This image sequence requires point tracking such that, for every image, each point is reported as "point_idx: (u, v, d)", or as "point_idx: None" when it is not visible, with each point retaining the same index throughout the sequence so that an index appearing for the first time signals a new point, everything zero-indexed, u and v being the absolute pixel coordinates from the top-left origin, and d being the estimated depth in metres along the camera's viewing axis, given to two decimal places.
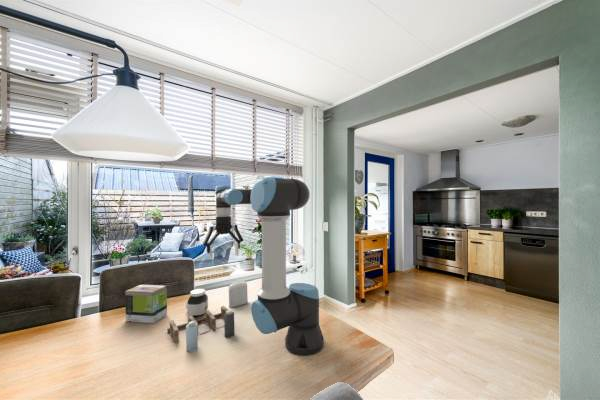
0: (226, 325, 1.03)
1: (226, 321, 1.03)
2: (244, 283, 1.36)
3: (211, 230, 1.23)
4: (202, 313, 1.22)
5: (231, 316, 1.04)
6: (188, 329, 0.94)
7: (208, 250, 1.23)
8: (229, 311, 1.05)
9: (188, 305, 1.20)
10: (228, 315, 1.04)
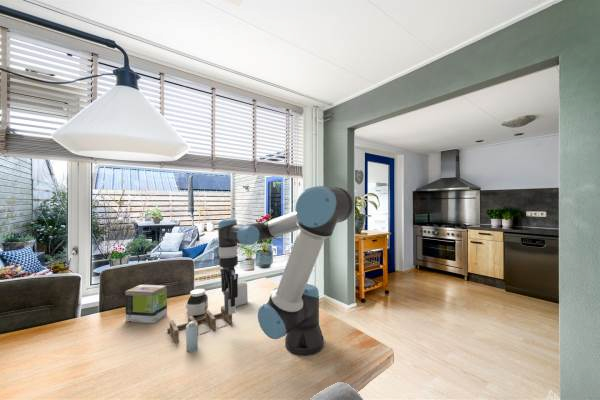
0: (226, 302, 1.03)
1: (226, 298, 1.03)
2: (244, 283, 1.36)
3: (221, 273, 1.09)
4: (202, 313, 1.22)
5: None
6: (188, 329, 0.94)
7: None
8: None
9: (188, 305, 1.20)
10: (228, 292, 1.03)
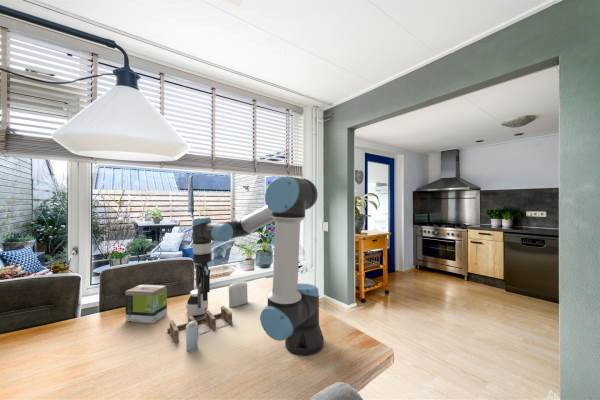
0: (199, 296, 1.07)
1: (199, 292, 1.07)
2: (244, 283, 1.36)
3: (196, 269, 1.13)
4: (202, 313, 1.22)
5: None
6: (188, 329, 0.94)
7: None
8: None
9: (188, 305, 1.20)
10: None
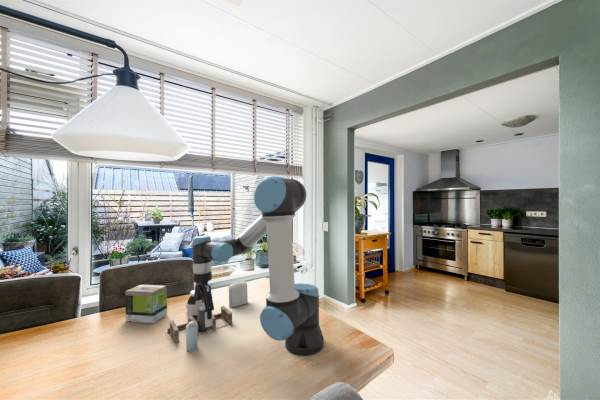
0: (199, 320, 1.07)
1: (199, 317, 1.07)
2: (244, 283, 1.36)
3: None
4: None
5: (204, 312, 1.08)
6: (188, 329, 0.94)
7: None
8: (203, 307, 1.09)
9: (188, 305, 1.20)
10: (201, 311, 1.08)
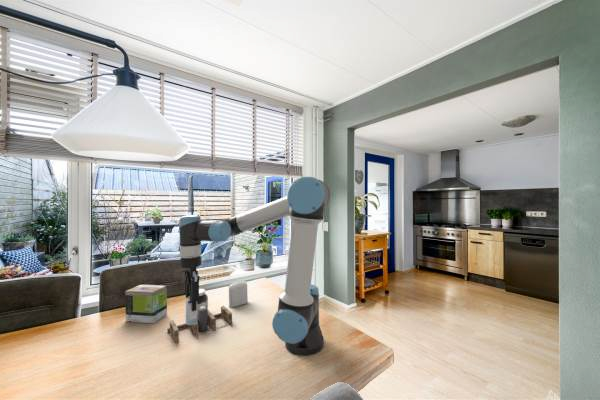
0: (199, 320, 1.07)
1: (199, 317, 1.07)
2: (244, 283, 1.36)
3: (184, 274, 0.99)
4: None
5: (204, 312, 1.08)
6: None
7: None
8: (203, 307, 1.09)
9: None
10: (201, 311, 1.08)
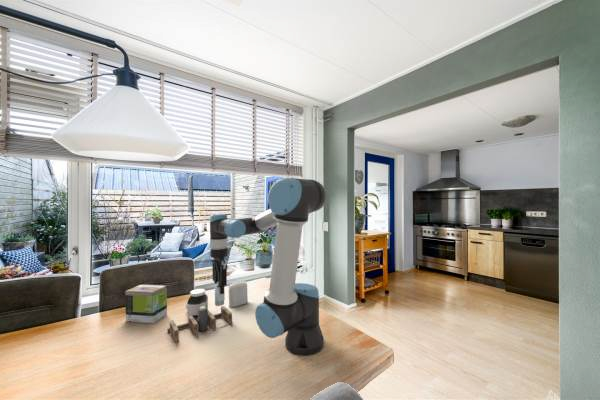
0: (199, 320, 1.07)
1: (199, 317, 1.07)
2: (244, 283, 1.36)
3: (212, 264, 1.17)
4: None
5: (204, 312, 1.08)
6: (217, 287, 1.12)
7: None
8: (203, 307, 1.09)
9: (188, 305, 1.20)
10: (201, 311, 1.08)
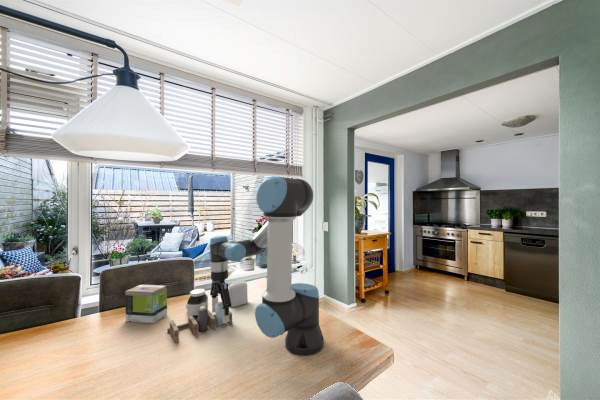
0: (199, 320, 1.07)
1: (199, 317, 1.07)
2: (244, 283, 1.36)
3: (212, 282, 1.18)
4: None
5: (204, 312, 1.08)
6: (217, 308, 1.12)
7: None
8: (203, 307, 1.09)
9: (188, 305, 1.20)
10: (201, 311, 1.08)
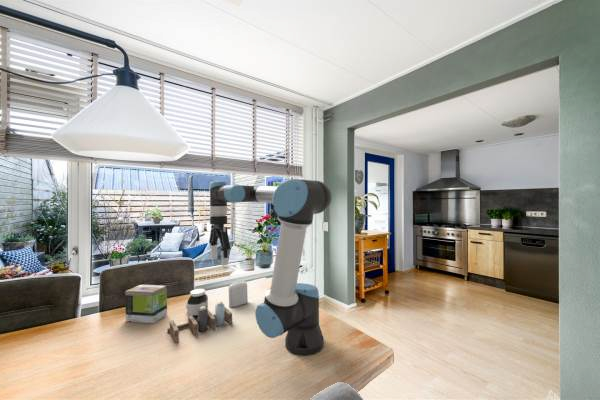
0: (199, 320, 1.07)
1: (199, 317, 1.07)
2: (244, 283, 1.36)
3: (211, 229, 1.18)
4: None
5: (204, 312, 1.08)
6: (217, 308, 1.12)
7: None
8: (203, 307, 1.09)
9: (188, 305, 1.20)
10: (201, 311, 1.08)
